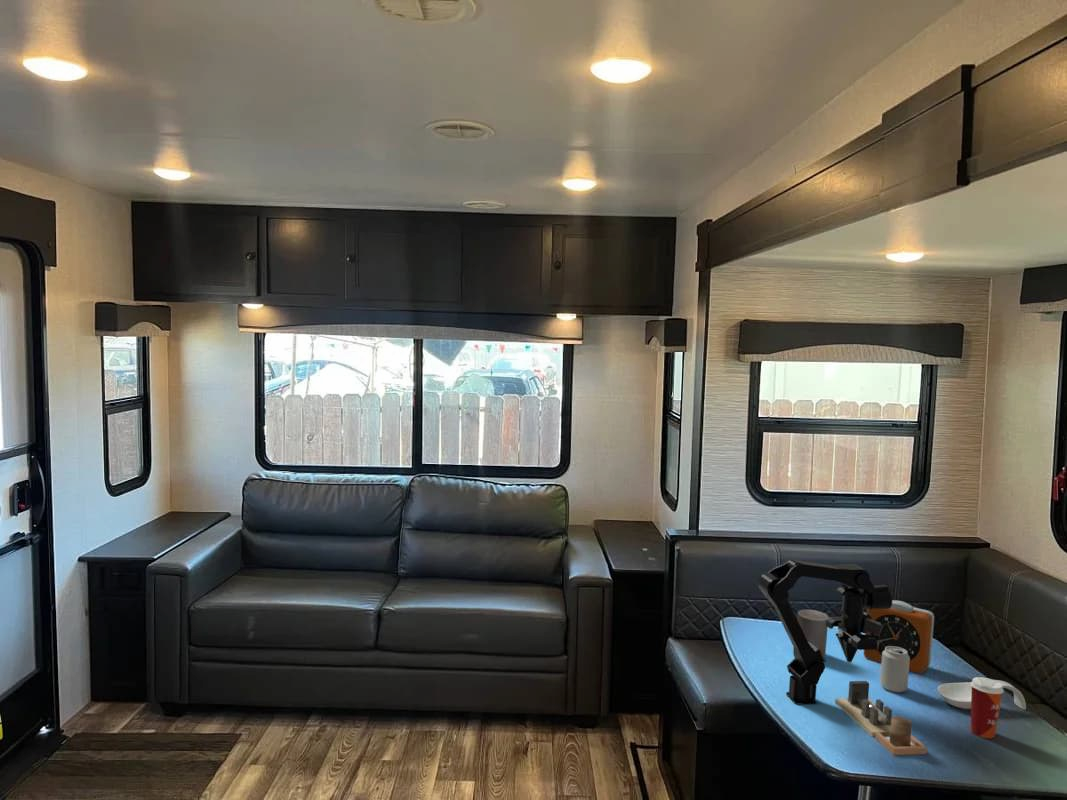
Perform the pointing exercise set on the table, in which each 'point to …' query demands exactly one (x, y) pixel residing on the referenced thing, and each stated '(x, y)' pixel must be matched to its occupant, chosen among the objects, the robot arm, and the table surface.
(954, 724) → the table surface
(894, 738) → the brown dome-ended cylinder
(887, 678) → the can
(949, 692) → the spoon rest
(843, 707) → the beige piece
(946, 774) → the table surface
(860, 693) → the shaft
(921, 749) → the picture frame
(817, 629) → the pillar candle
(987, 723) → the paper cup
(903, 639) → the alarm clock
